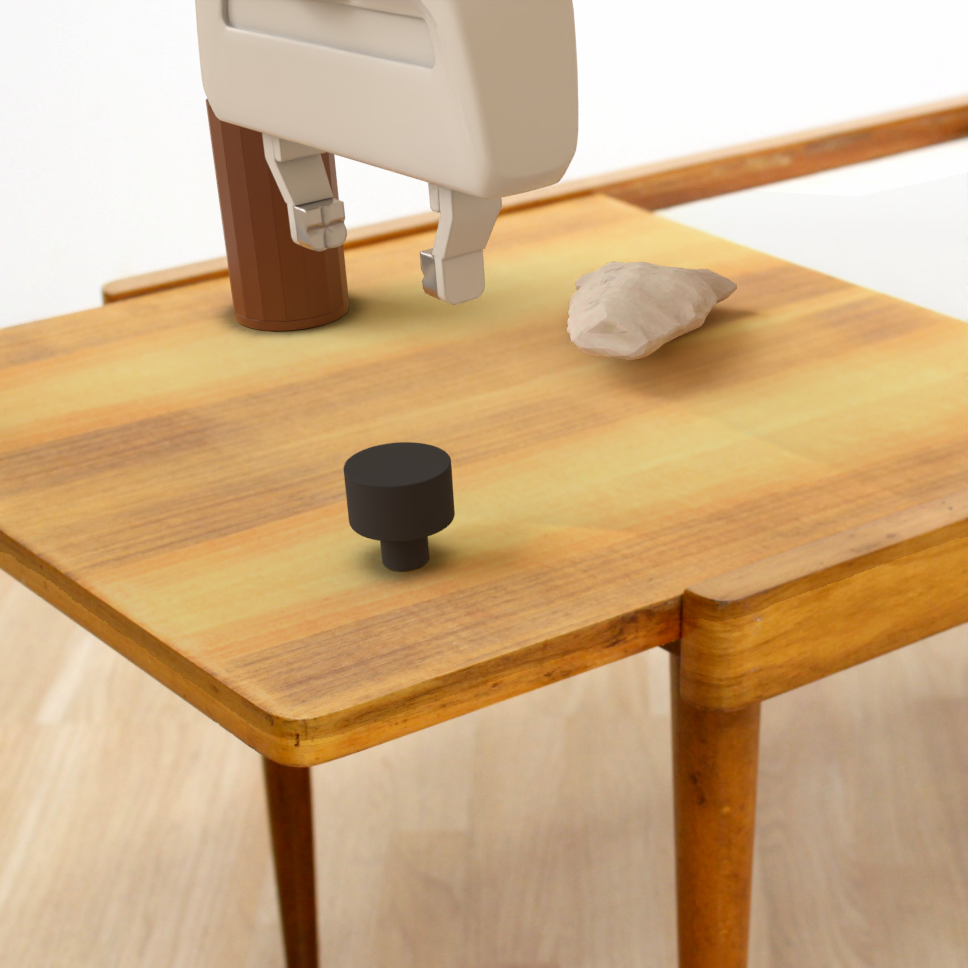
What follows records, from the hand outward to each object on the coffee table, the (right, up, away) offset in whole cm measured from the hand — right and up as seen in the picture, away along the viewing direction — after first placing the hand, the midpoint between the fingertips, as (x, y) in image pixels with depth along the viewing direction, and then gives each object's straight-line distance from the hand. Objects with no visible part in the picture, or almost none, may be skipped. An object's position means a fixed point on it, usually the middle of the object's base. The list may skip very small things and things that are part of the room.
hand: (383, 270), depth 60 cm
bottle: (-9, +4, +35) cm, 37 cm away
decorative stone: (+11, 0, +28) cm, 30 cm away
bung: (0, -11, +6) cm, 13 cm away
